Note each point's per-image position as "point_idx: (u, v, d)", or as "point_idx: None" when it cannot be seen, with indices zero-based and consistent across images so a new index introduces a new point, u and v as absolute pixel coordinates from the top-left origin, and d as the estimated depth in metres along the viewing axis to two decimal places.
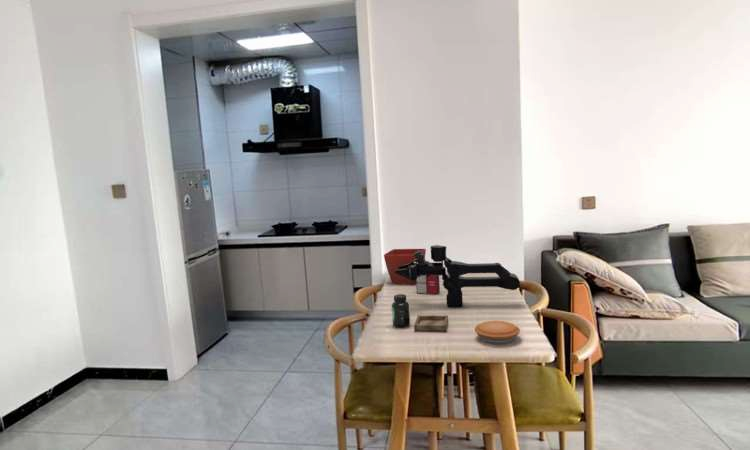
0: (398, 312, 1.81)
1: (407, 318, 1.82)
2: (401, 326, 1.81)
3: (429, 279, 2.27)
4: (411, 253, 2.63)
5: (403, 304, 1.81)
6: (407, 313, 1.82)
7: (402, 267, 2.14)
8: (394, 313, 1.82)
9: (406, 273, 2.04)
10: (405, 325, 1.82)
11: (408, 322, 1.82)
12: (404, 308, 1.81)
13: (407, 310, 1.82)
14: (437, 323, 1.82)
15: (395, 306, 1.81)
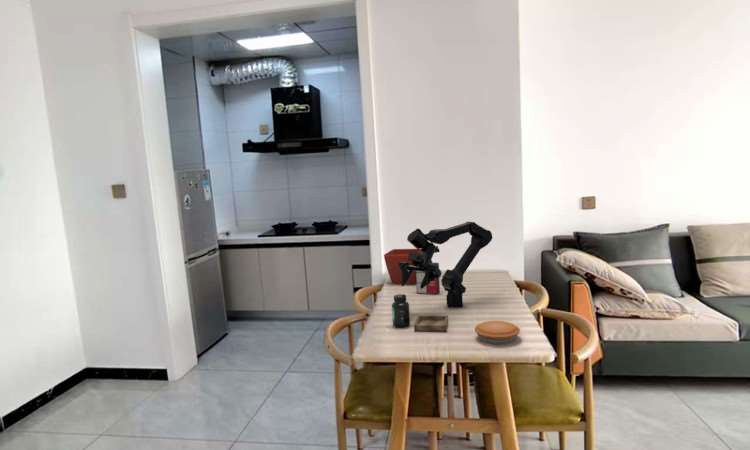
0: (398, 312, 1.81)
1: (407, 318, 1.82)
2: (401, 326, 1.81)
3: None
4: None
5: (403, 304, 1.81)
6: (407, 313, 1.82)
7: (404, 281, 1.93)
8: (394, 313, 1.82)
9: (428, 278, 1.88)
10: (405, 325, 1.82)
11: (408, 322, 1.82)
12: (404, 308, 1.81)
13: (407, 310, 1.82)
14: (437, 323, 1.82)
15: (395, 306, 1.81)
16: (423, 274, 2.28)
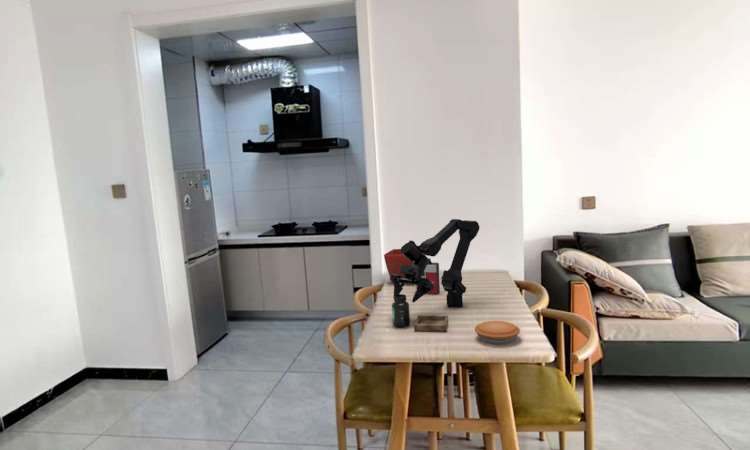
0: (398, 312, 1.81)
1: (407, 318, 1.82)
2: (401, 326, 1.81)
3: None
4: None
5: (403, 304, 1.81)
6: (407, 313, 1.82)
7: (396, 294, 1.89)
8: (394, 313, 1.82)
9: (420, 291, 1.84)
10: (405, 325, 1.82)
11: (408, 322, 1.82)
12: (404, 308, 1.81)
13: (407, 310, 1.82)
14: (437, 323, 1.82)
15: (395, 306, 1.81)
16: None
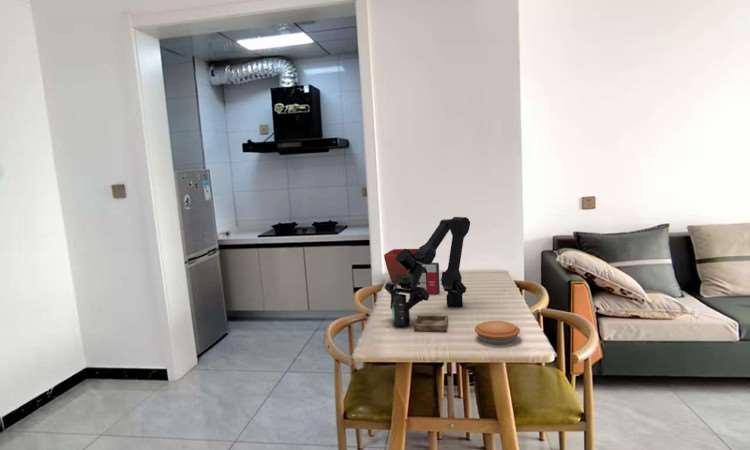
0: (398, 312, 1.81)
1: (407, 318, 1.82)
2: (401, 326, 1.81)
3: (429, 279, 2.27)
4: None
5: (403, 304, 1.81)
6: (407, 313, 1.82)
7: None
8: (394, 313, 1.82)
9: (413, 300, 1.83)
10: (405, 325, 1.82)
11: (408, 322, 1.82)
12: (404, 308, 1.81)
13: None
14: (437, 323, 1.82)
15: (395, 306, 1.81)
16: (423, 274, 2.28)
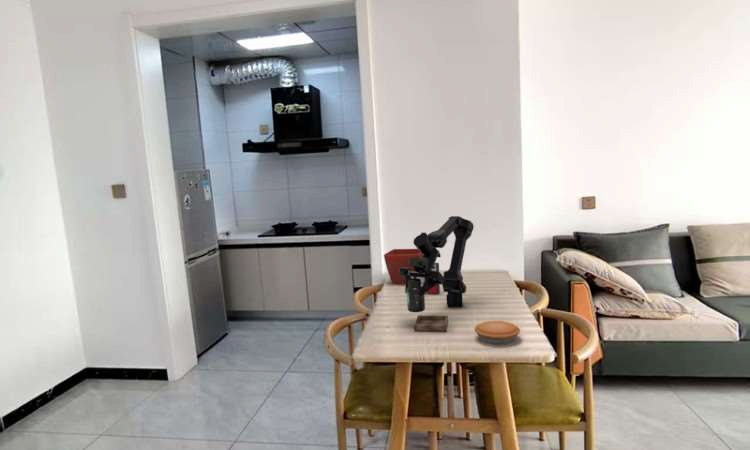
0: (413, 296, 1.79)
1: (422, 302, 1.80)
2: (416, 310, 1.79)
3: None
4: (411, 253, 2.63)
5: (418, 288, 1.79)
6: (422, 297, 1.80)
7: None
8: (409, 297, 1.80)
9: (428, 284, 1.80)
10: (420, 309, 1.79)
11: (423, 306, 1.80)
12: (419, 292, 1.78)
13: None
14: (437, 323, 1.82)
15: (410, 291, 1.79)
16: None
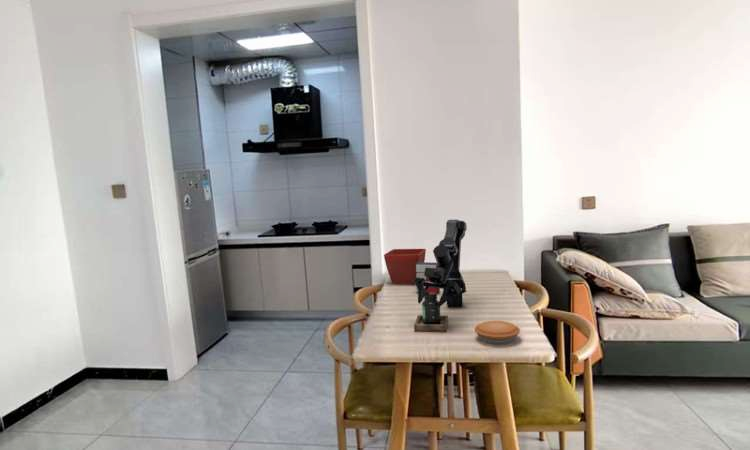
0: (429, 311, 1.77)
1: (438, 317, 1.78)
2: None
3: None
4: (411, 253, 2.63)
5: (434, 303, 1.77)
6: (438, 312, 1.78)
7: (420, 298, 1.83)
8: (425, 312, 1.78)
9: (446, 295, 1.78)
10: (436, 324, 1.78)
11: (439, 321, 1.79)
12: (435, 307, 1.77)
13: (438, 309, 1.78)
14: None
15: (426, 305, 1.77)
16: (423, 274, 2.28)
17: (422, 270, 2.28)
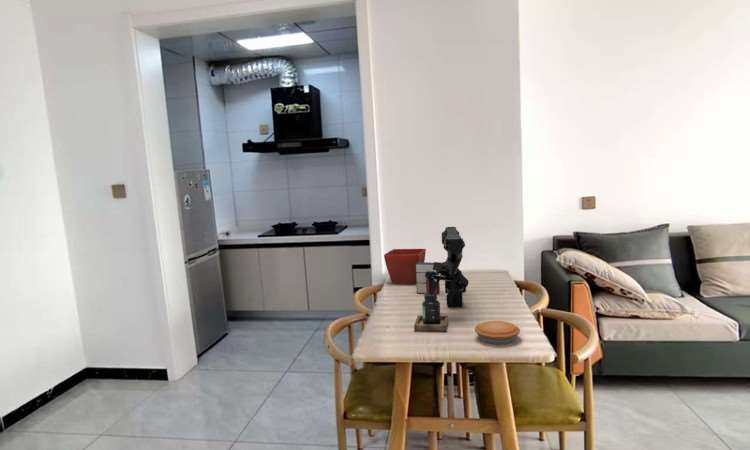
0: (429, 311, 1.77)
1: (438, 317, 1.78)
2: None
3: None
4: (411, 253, 2.63)
5: (434, 303, 1.77)
6: (438, 312, 1.78)
7: (431, 291, 1.91)
8: (425, 312, 1.78)
9: (455, 287, 1.85)
10: (436, 324, 1.78)
11: (439, 321, 1.79)
12: (435, 307, 1.77)
13: (438, 309, 1.78)
14: None
15: (426, 305, 1.77)
16: (423, 274, 2.28)
17: (422, 270, 2.28)
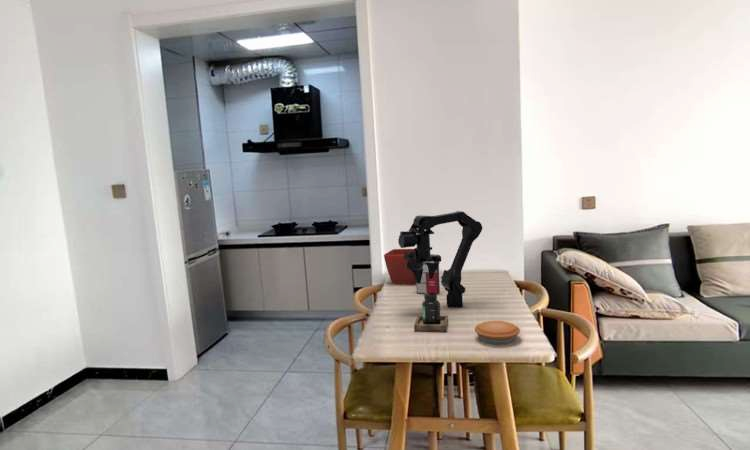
0: (429, 311, 1.77)
1: (438, 317, 1.78)
2: None
3: (429, 279, 2.27)
4: None
5: (434, 303, 1.77)
6: (438, 312, 1.78)
7: (430, 274, 2.03)
8: (425, 312, 1.78)
9: (417, 272, 1.95)
10: (436, 324, 1.78)
11: (439, 321, 1.79)
12: (435, 307, 1.77)
13: (438, 309, 1.78)
14: None
15: (426, 305, 1.77)
16: (423, 274, 2.28)
17: None
